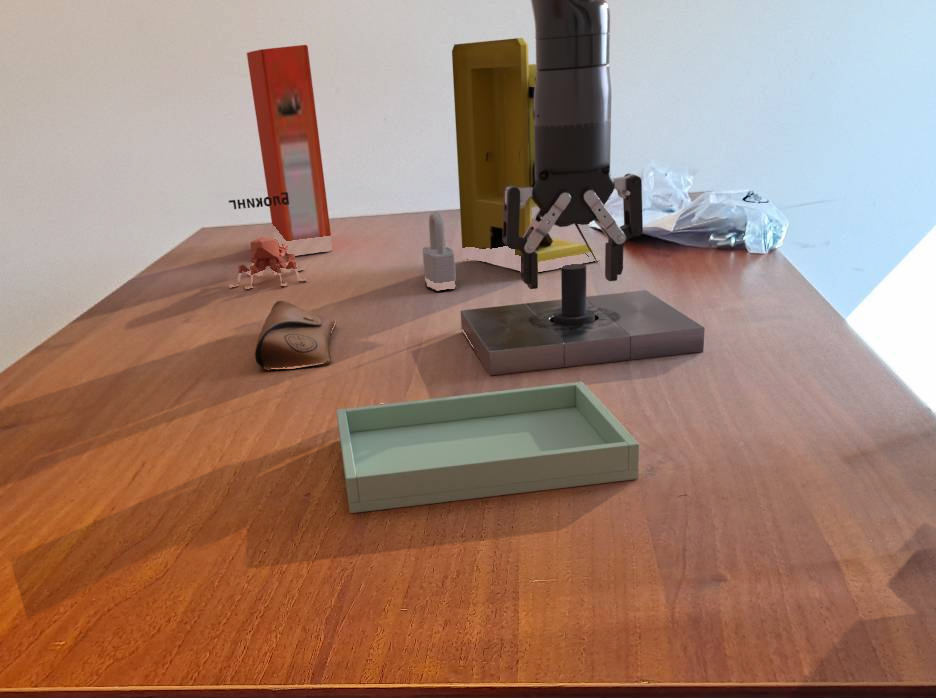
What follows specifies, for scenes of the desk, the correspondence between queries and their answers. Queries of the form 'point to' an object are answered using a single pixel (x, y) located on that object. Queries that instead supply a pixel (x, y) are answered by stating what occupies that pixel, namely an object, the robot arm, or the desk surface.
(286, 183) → the file binder
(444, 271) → the padlock
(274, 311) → the sunglasses case
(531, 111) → the vintage telephone
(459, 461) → the tray
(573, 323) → the plug
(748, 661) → the desk surface
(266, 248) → the beetle
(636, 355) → the plate
